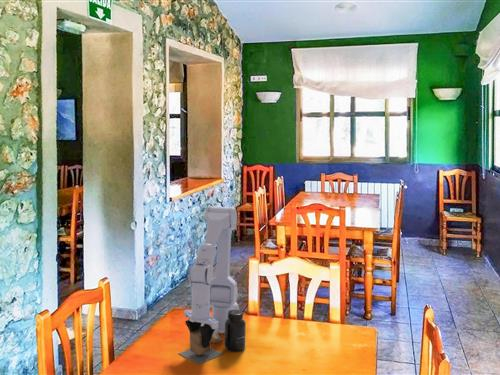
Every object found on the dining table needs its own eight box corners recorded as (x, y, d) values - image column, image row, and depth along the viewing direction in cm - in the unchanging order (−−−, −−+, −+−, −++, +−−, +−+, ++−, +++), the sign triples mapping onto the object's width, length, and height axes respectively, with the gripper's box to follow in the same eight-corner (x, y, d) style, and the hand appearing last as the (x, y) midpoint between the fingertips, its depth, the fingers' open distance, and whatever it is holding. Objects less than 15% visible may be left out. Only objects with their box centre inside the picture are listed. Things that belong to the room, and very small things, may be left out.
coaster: (202, 344, 168) (202, 344, 168) (223, 354, 161) (223, 353, 161) (178, 353, 161) (178, 353, 161) (198, 364, 154) (198, 363, 154)
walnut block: (201, 346, 164) (201, 328, 163) (210, 350, 161) (210, 332, 160) (190, 350, 161) (189, 332, 160) (199, 355, 158) (199, 336, 157)
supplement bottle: (243, 353, 162) (243, 316, 161) (222, 351, 163) (222, 315, 162) (247, 344, 169) (247, 309, 167) (227, 342, 170) (227, 307, 169)
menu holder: (195, 334, 176) (195, 317, 176) (202, 332, 178) (202, 315, 178) (215, 343, 169) (215, 325, 169) (221, 340, 171) (221, 323, 171)
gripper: (176, 299, 161) (176, 341, 163) (205, 311, 151) (206, 355, 153) (193, 294, 166) (193, 334, 168) (223, 306, 156) (223, 348, 158)
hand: (200, 344), depth 161 cm, fingers closed on walnut block, 4 cm apart
